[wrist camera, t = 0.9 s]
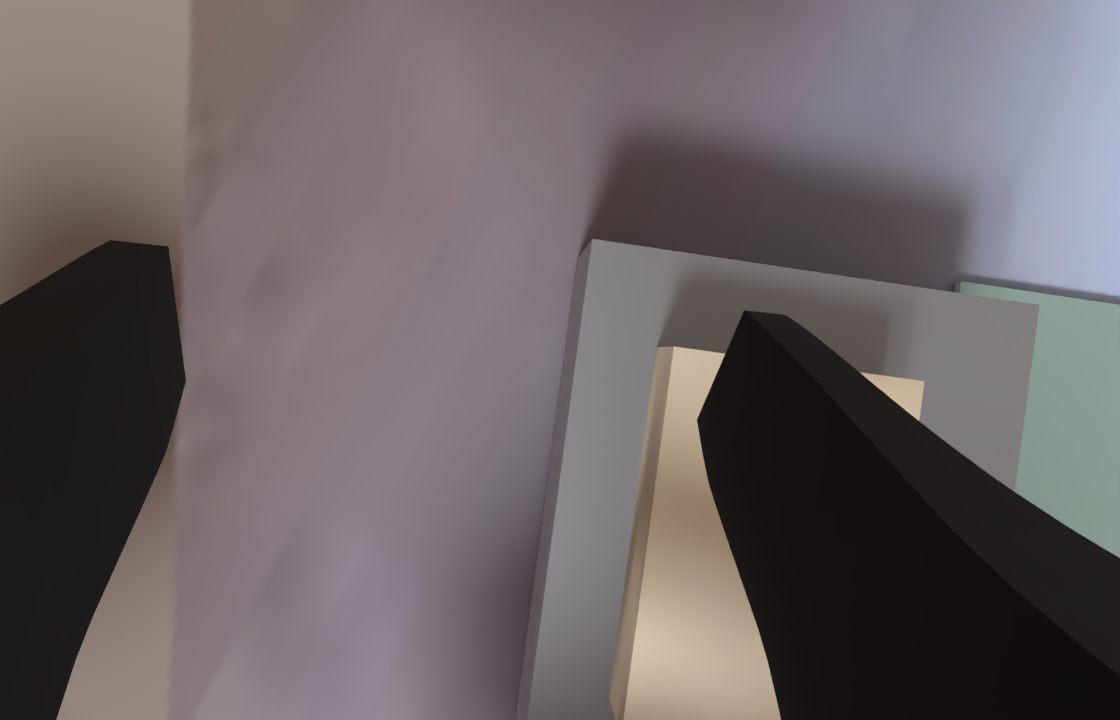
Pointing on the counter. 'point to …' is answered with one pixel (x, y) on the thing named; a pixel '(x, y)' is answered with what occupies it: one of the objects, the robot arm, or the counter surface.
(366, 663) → the counter surface
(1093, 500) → the mat
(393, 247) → the counter surface
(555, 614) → the grey box
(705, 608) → the tan rectangular block
